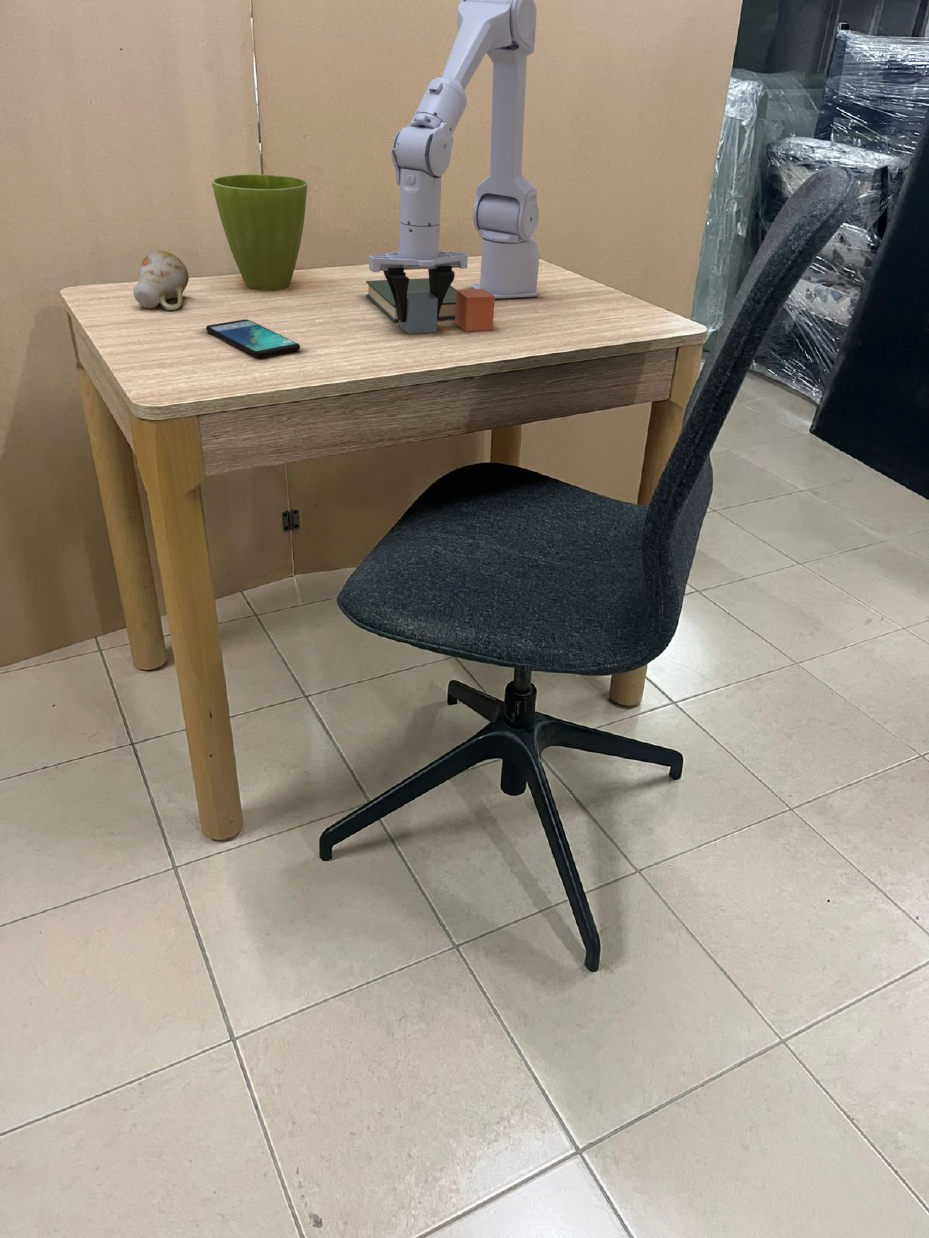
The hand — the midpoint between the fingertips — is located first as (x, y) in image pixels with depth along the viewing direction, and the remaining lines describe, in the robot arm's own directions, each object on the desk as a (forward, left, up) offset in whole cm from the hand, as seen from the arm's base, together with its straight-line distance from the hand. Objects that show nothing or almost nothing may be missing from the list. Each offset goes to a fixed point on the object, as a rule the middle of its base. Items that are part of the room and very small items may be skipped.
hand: (417, 319), depth 136 cm
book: (-4, -12, -1) cm, 12 cm away
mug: (+35, -21, -2) cm, 41 cm away
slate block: (0, 0, -1) cm, 1 cm away
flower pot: (+17, -29, -2) cm, 34 cm away
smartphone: (+25, +1, -2) cm, 25 cm away
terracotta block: (-9, 0, -1) cm, 9 cm away
